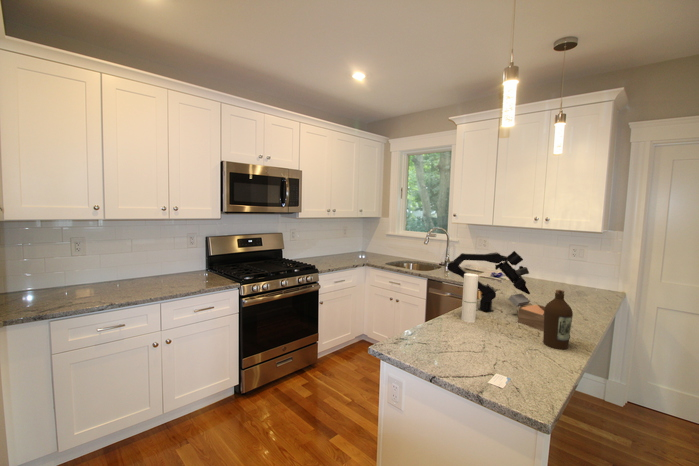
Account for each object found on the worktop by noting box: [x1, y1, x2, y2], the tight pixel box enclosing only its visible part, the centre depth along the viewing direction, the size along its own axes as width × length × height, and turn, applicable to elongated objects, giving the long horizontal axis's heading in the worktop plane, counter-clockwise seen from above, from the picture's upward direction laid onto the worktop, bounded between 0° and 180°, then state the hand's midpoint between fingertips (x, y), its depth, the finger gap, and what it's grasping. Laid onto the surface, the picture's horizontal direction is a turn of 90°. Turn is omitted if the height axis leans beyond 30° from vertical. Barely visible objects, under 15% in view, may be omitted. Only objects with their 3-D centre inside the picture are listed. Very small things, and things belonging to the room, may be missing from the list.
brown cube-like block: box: [519, 302, 533, 308], centre depth 188 cm, size 6×6×5 cm
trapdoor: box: [508, 293, 544, 315], centre depth 173 cm, size 14×23×3 cm
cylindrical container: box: [460, 272, 479, 324], centre depth 170 cm, size 7×7×25 cm
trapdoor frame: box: [517, 304, 545, 332], centre depth 169 cm, size 18×14×8 cm
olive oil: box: [542, 289, 574, 351], centre depth 142 cm, size 11×11×25 cm
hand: (528, 292), depth 181 cm, fingers open, 9 cm apart
